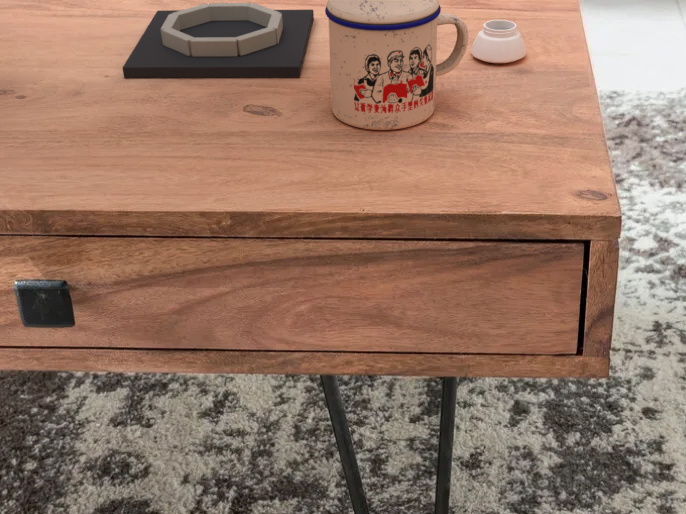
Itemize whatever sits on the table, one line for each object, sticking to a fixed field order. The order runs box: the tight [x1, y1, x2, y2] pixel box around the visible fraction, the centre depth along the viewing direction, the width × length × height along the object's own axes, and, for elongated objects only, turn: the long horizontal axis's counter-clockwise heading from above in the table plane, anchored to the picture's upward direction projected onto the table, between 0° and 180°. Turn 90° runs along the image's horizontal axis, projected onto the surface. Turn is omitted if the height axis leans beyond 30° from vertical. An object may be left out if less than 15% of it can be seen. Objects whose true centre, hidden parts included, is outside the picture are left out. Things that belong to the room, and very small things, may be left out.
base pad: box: [122, 2, 315, 79], centre depth 100 cm, size 16×16×2 cm
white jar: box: [470, 19, 527, 64], centre depth 96 cm, size 5×3×5 cm
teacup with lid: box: [324, 0, 469, 131], centre depth 85 cm, size 12×9×12 cm
